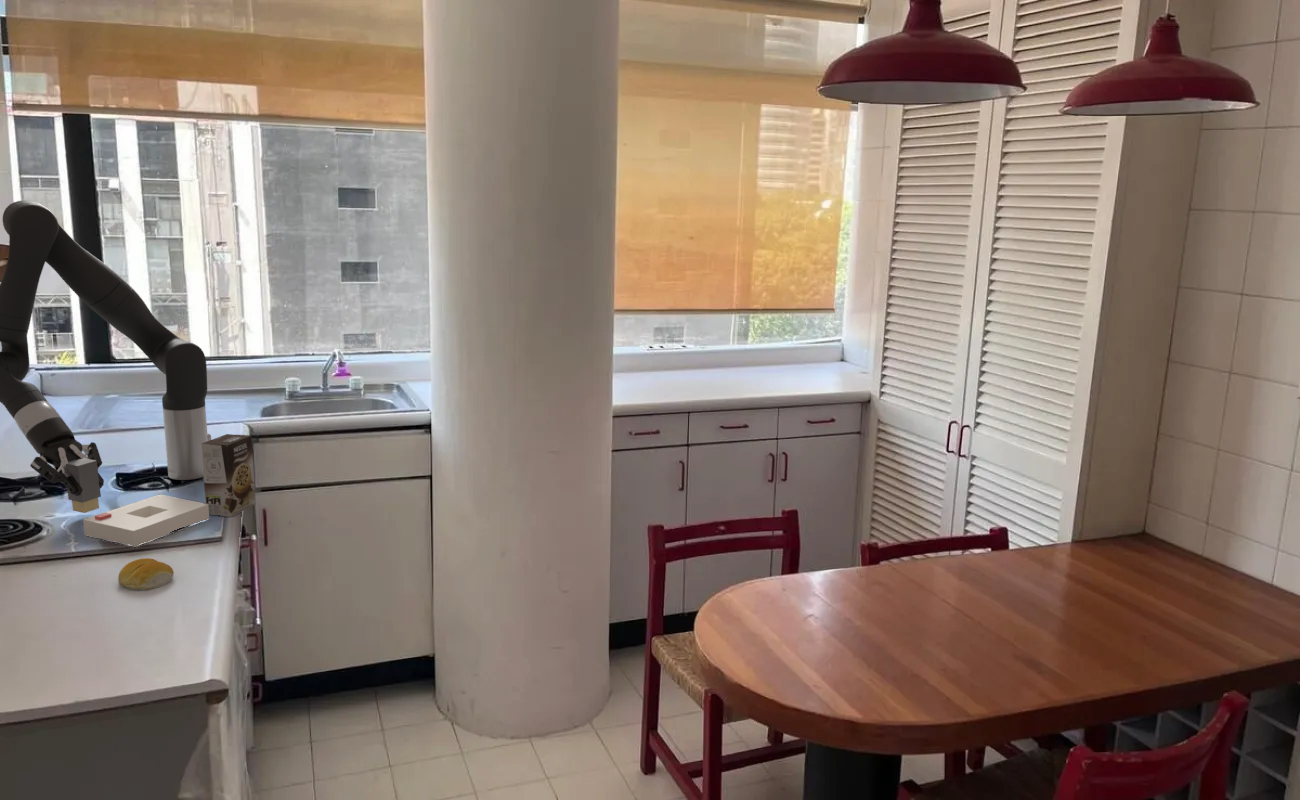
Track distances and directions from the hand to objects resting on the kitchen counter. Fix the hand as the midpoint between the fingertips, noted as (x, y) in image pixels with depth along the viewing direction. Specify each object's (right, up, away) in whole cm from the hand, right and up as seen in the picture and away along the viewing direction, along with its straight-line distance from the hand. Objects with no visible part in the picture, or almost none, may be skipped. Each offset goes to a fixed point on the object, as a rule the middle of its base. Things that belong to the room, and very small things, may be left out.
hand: (90, 489), depth 196 cm
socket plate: (+13, -8, -2) cm, 16 cm away
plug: (-2, -4, +2) cm, 5 cm away
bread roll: (+27, -14, -28) cm, 41 cm away
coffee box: (+25, -6, +10) cm, 28 cm away
